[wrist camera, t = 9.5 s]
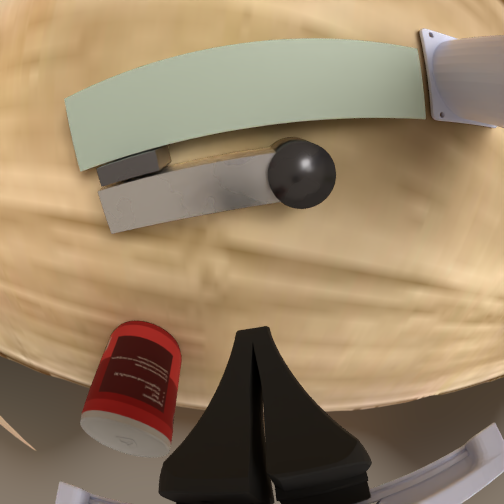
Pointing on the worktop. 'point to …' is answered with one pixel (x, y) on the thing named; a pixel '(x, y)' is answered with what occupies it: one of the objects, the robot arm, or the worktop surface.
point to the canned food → (135, 391)
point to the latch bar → (222, 185)
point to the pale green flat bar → (243, 93)
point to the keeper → (134, 165)
